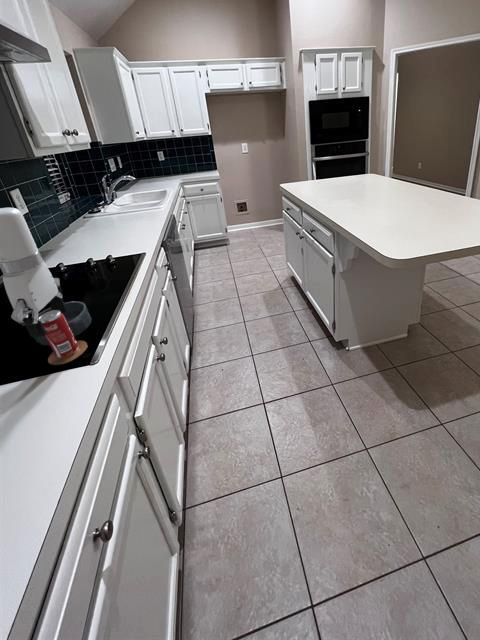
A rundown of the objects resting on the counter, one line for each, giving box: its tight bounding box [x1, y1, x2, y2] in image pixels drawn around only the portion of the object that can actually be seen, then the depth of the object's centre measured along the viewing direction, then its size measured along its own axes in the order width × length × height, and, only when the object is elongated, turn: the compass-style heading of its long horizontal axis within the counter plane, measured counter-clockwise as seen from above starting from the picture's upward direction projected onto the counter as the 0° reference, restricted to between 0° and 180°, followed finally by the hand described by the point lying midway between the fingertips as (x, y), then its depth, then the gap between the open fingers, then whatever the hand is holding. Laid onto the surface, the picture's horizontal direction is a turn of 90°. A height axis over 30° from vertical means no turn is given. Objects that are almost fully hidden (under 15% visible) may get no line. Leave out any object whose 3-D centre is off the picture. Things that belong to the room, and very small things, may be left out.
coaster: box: [47, 340, 88, 366], centre depth 84 cm, size 9×9×1 cm
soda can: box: [38, 310, 78, 358], centre depth 81 cm, size 5×5×12 cm
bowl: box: [33, 301, 93, 346], centre depth 92 cm, size 14×14×6 cm
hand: (50, 323), depth 79 cm, fingers open, 9 cm apart
